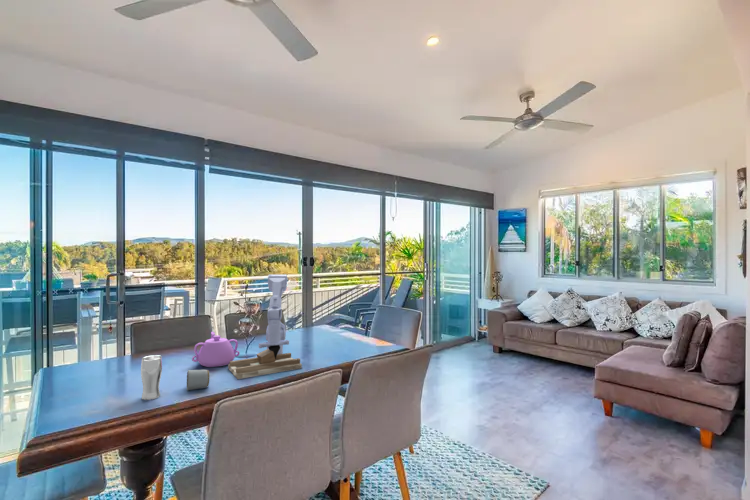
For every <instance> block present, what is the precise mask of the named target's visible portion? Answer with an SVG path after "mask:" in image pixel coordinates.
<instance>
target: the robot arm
mask: <svg viewBox="0 0 750 500" xmlns="http://www.w3.org/2000/svg"><path fill="white" fill-rule="evenodd" d="M287 285H288V275H287V274H286V273H285V274H268V275H267V286H268V291H269V292H272V296H271V297H270V298H269V307H268V309H267V324H268V325H267V326H266V332H265V339H266V341H263V342H259V343H258V348H259V349H264V348H266V350H267V349H269V350H271V351H273V353H274V356H275V360H276V356H277V355H278V354H284V353H283V352H284V349H283V348H284V346H285V345H287V346H289V345H290V340H288V339H286V336H287V335H286V325H285V323H282V321H281V320H282V318H283V317H282V315H283V312H282V301H283V300H282V296H283V293H284V292H285V291H287Z"/></svg>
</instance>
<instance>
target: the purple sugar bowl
mask: <svg viewBox="0 0 750 500" xmlns="http://www.w3.org/2000/svg"><path fill="white" fill-rule="evenodd" d="M231 342H235V347H234V346H233V345H232V343H231ZM198 346H201V347H200V349H199V351H197V350H198V349H197V347H198ZM238 346H239V343H238V340H237V339H235V338H232V339H228V338H226V337H221V335H218V334H217V335H216V332H214V331H211V332H210V338H209V339H208V338H207V339H206V340H205V341H204V342H201V341H200V342H198V343H195V345H194V347H193V351H194V355H193V356H192V358H191V361H192V362H193V363H194V362H196V363H197V362H198V363H199V364H200V365H201V366H202V367H206V368H215V367H216V368H218V367H223V366H228V365H229V361H234V359H235V357H239V355H240V351H239V350H237V349H238Z"/></svg>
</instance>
